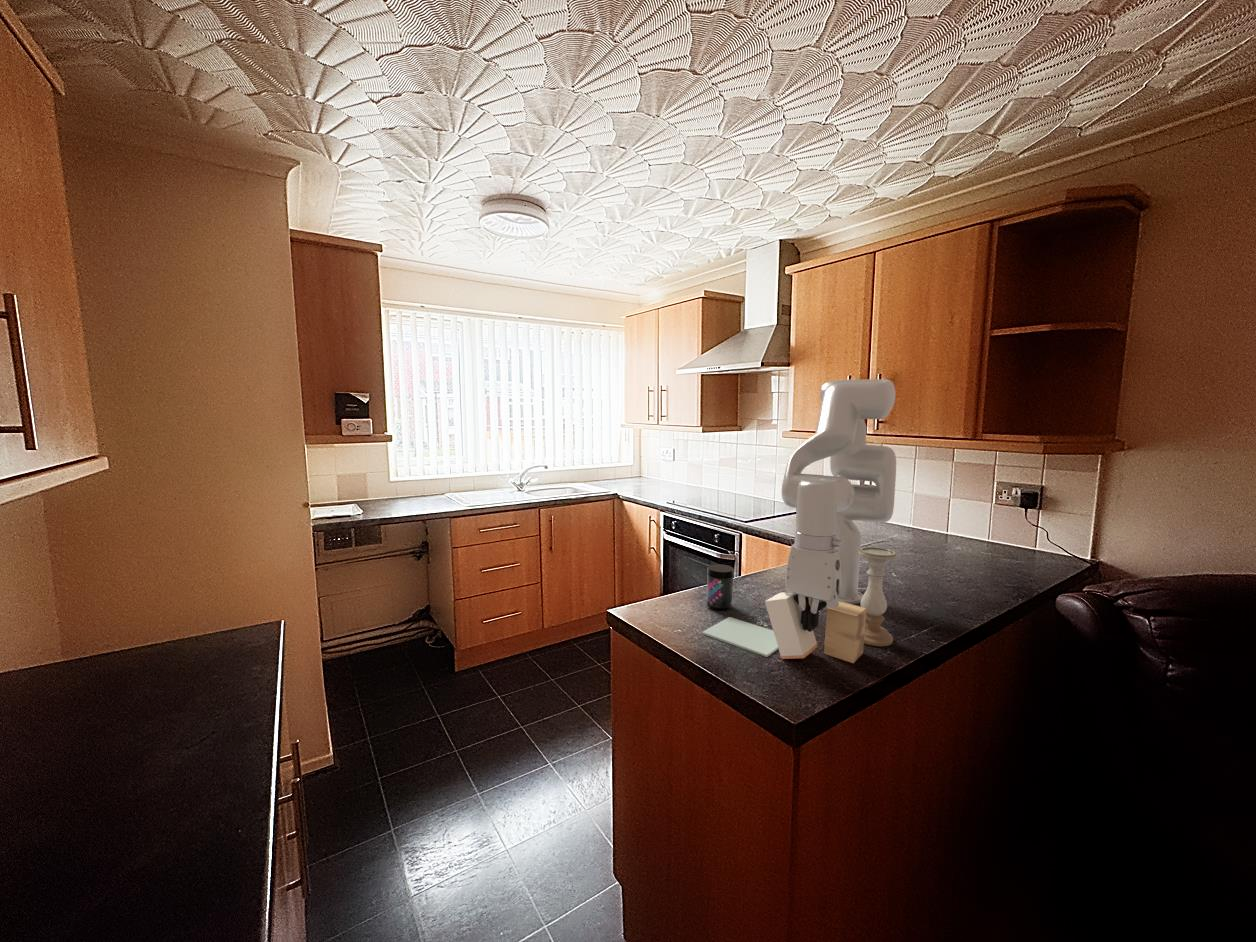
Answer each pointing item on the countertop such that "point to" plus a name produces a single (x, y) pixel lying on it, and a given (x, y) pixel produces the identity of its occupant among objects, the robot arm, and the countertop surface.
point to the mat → (744, 636)
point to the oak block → (845, 631)
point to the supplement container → (720, 587)
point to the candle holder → (875, 596)
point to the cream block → (789, 627)
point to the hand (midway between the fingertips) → (809, 628)
